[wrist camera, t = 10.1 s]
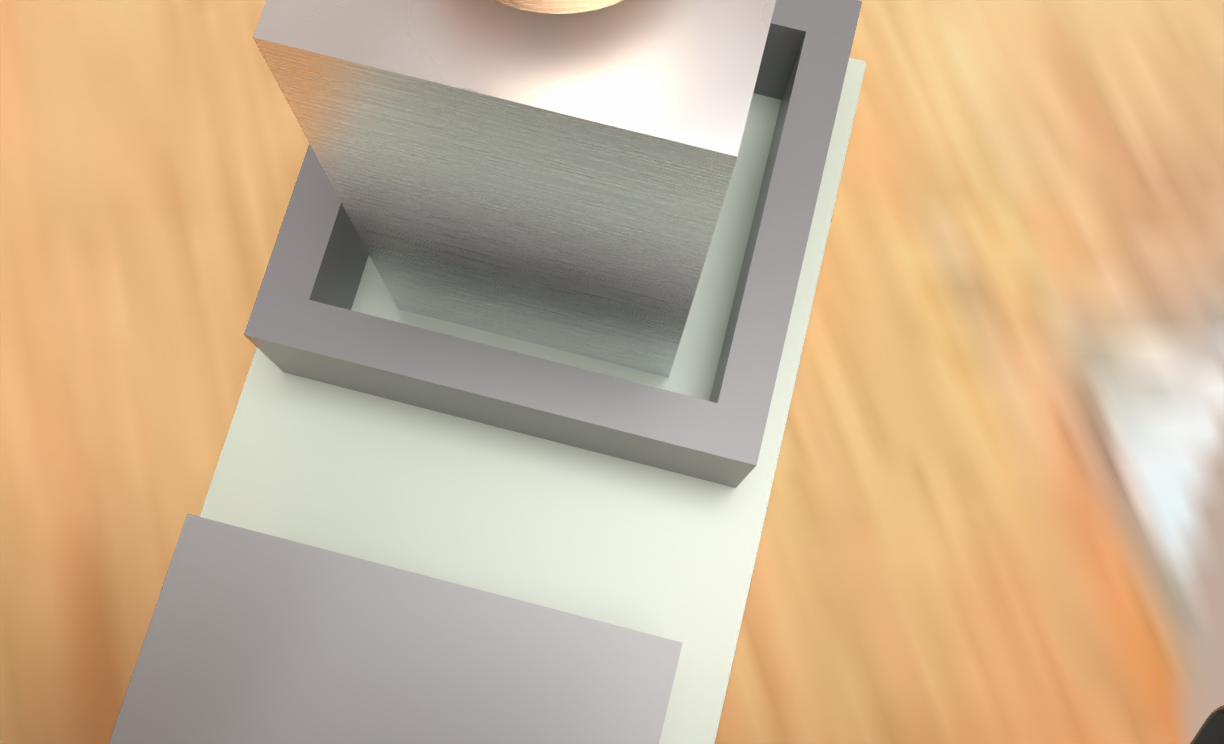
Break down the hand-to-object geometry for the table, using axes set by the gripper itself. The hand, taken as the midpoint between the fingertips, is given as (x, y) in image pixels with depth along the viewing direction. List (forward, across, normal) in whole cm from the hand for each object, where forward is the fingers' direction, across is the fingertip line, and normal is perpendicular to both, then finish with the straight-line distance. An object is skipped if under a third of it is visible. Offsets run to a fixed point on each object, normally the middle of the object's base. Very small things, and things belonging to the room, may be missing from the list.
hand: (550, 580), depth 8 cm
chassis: (+12, +2, +8) cm, 14 cm away
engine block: (+14, +2, +4) cm, 14 cm away
